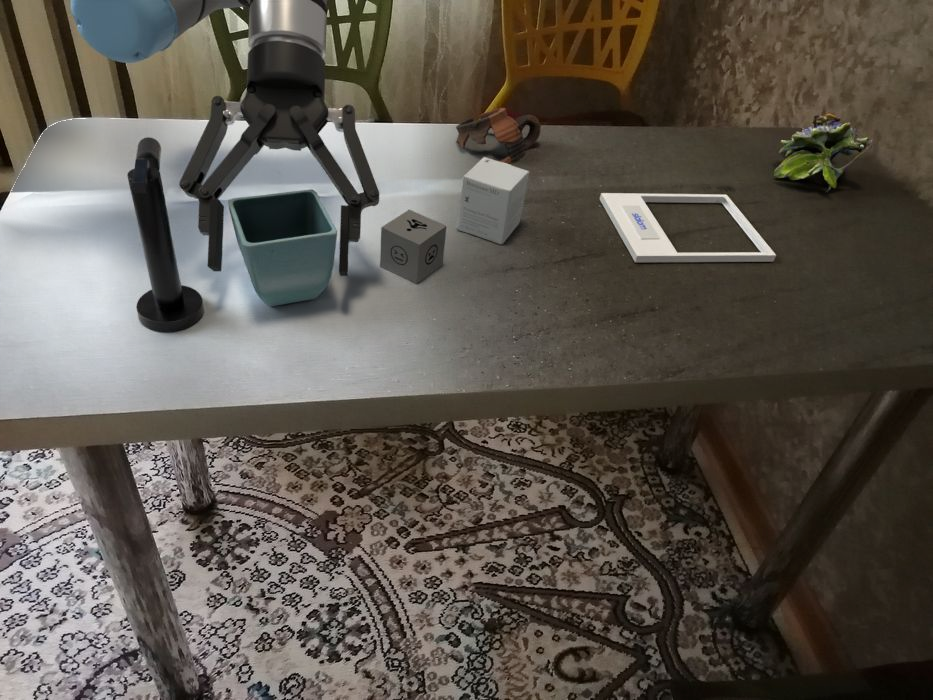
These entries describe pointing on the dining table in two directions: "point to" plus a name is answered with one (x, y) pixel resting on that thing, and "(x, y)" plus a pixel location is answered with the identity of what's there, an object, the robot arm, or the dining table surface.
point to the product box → (492, 200)
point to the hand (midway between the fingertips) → (279, 271)
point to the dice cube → (412, 246)
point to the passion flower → (820, 149)
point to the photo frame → (652, 241)
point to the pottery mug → (501, 132)
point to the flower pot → (285, 244)
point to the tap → (159, 249)
